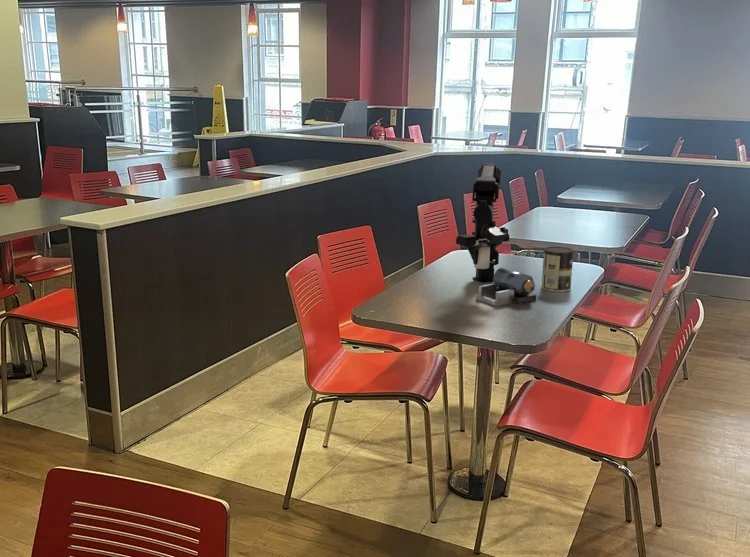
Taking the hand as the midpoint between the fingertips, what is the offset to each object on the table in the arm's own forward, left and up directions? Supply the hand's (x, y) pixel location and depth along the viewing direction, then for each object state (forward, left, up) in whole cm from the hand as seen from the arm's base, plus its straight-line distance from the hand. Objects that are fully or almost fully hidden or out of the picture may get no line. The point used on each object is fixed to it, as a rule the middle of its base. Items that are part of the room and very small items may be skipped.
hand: (481, 263), depth 232 cm
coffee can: (+6, +30, -12) cm, 33 cm away
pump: (0, 0, -1) cm, 1 cm away
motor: (+6, +5, -12) cm, 14 cm away
